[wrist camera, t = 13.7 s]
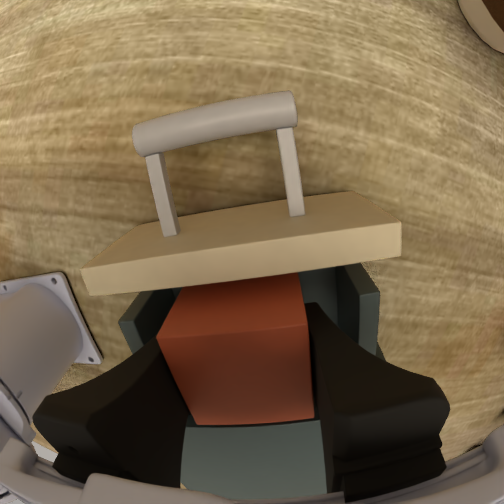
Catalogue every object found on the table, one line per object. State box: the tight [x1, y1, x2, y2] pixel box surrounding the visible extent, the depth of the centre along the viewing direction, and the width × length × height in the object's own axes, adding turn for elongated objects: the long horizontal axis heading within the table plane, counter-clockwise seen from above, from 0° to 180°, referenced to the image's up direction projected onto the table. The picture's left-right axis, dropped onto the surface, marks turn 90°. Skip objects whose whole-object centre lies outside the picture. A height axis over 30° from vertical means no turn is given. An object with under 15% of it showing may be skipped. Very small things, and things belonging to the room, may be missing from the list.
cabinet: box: [180, 342, 386, 500], centre depth 17 cm, size 15×13×8 cm
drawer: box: [80, 91, 401, 415], centre depth 13 cm, size 18×11×6 cm, turn 10°
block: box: [156, 272, 314, 425], centre depth 11 cm, size 4×4×4 cm
